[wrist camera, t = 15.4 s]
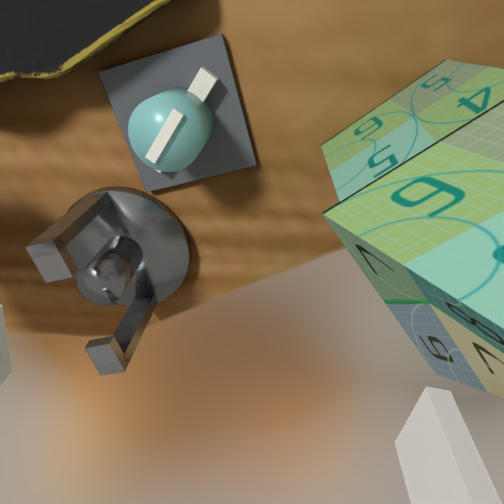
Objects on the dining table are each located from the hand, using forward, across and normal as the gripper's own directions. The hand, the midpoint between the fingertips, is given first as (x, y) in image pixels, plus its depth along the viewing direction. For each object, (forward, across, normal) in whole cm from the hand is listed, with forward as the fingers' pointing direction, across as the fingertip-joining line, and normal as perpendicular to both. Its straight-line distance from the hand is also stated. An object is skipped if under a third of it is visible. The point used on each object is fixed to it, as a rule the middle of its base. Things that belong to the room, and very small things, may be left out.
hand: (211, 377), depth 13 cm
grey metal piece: (+34, -14, -17) cm, 41 cm away
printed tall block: (+35, +17, 0) cm, 39 cm away
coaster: (+34, -9, 0) cm, 35 cm away
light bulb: (+34, -9, 0) cm, 35 cm away
